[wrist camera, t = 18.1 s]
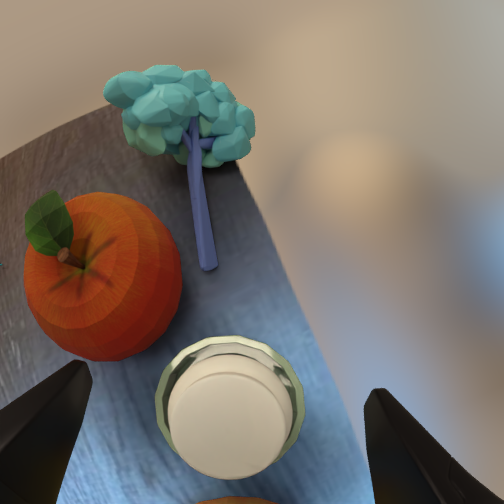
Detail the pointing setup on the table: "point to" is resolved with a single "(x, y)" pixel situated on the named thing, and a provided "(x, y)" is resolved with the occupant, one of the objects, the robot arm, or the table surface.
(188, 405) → the pill bottle
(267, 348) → the green faceted cup
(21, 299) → the table surface
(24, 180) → the table surface
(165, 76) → the toy tree
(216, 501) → the apple
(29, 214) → the fruit
